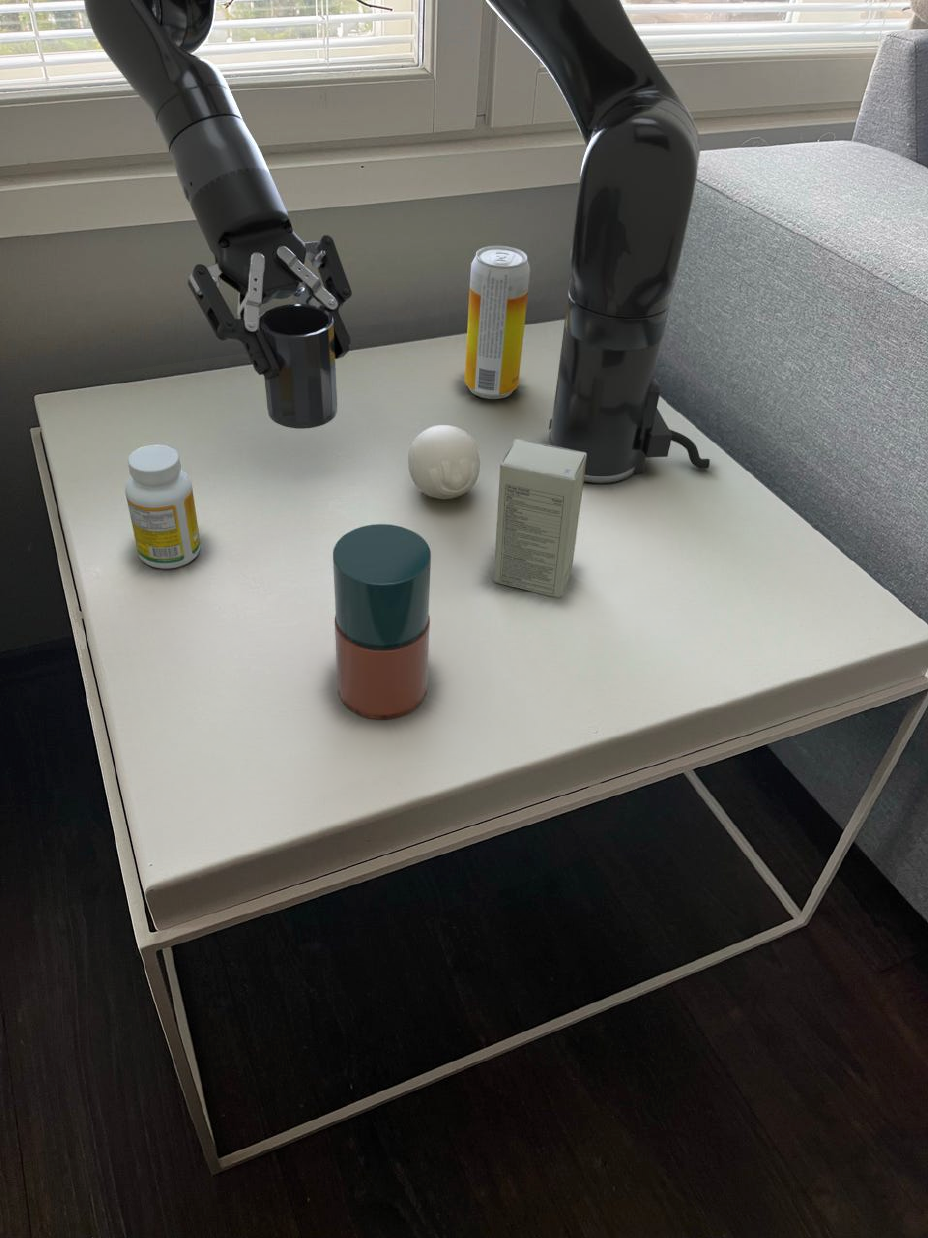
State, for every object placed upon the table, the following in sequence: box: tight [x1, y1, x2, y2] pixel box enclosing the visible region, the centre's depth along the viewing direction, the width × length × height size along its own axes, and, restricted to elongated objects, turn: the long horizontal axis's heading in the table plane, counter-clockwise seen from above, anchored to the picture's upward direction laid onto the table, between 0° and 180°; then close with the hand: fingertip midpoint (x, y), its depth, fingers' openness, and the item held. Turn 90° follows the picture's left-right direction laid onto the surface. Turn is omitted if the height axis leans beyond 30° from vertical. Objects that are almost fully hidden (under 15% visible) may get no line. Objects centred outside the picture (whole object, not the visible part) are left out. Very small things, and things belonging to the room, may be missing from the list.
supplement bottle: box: [124, 444, 202, 570], centre depth 82 cm, size 5×5×10 cm
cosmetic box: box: [492, 438, 587, 598], centre depth 81 cm, size 6×4×12 cm
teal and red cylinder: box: [332, 523, 432, 720], centre depth 70 cm, size 7×7×13 cm
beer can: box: [463, 245, 531, 400], centre depth 104 cm, size 6×6×15 cm
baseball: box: [407, 424, 481, 500], centre depth 91 cm, size 7×7×7 cm
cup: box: [258, 303, 338, 430], centre depth 88 cm, size 6×6×9 cm
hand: (308, 364), depth 86 cm, fingers closed on cup, 6 cm apart
